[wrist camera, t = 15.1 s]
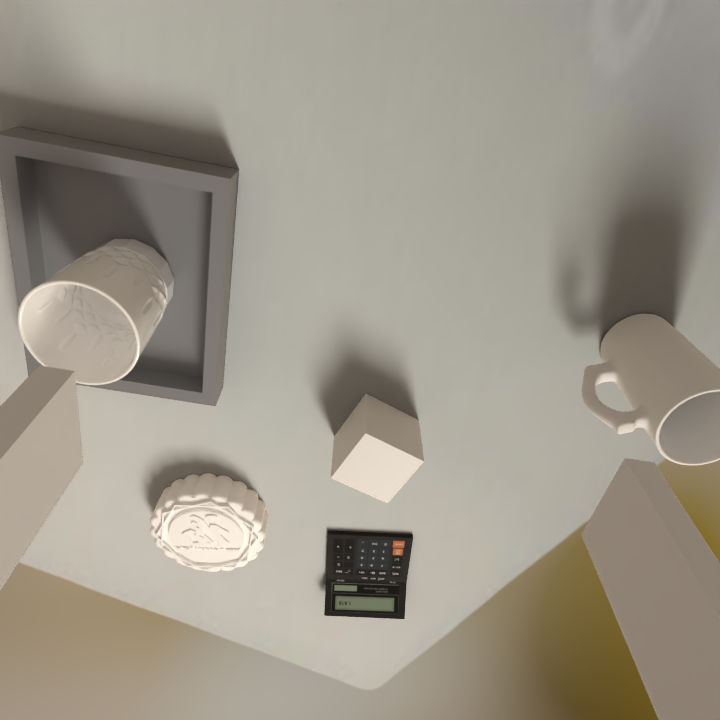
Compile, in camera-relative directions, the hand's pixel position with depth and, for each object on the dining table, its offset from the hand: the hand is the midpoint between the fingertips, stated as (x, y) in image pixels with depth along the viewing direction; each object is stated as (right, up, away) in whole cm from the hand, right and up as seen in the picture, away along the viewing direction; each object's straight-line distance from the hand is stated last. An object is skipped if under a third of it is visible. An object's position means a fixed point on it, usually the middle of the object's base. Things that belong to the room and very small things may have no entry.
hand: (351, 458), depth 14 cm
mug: (+23, +4, +36) cm, 43 cm away
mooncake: (-16, -14, +47) cm, 52 cm away
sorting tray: (-19, +10, +33) cm, 39 cm away
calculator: (+1, -21, +52) cm, 56 cm away
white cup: (-18, +9, +32) cm, 38 cm away
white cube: (+2, -4, +41) cm, 41 cm away
